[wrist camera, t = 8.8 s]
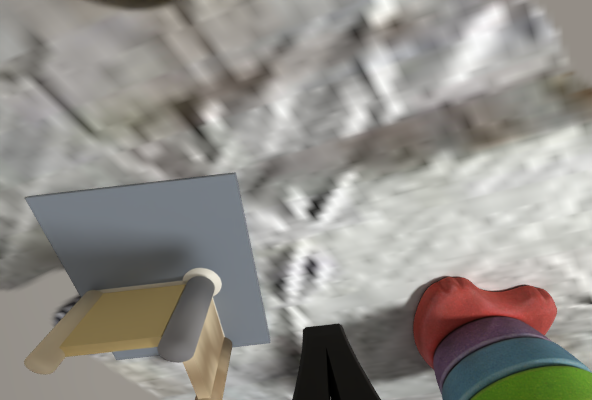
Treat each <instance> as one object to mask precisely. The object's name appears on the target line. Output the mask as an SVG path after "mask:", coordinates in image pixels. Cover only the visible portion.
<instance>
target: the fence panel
mask: <svg viewBox="0 0 592 400" xmlns="http://www.w3.org/2000/svg"><path fill="white" fill-rule="evenodd" d="M214 290H215V285H214V283H213V282H212V281H211V280H210V279H208V278H206V277H203V276H195V277H192V278H191V279H189V280H188V282H187V284H184V285H175V286H166V287H157V288H148V289H139V290H130V291H120V292H111V293H102V292H100V291H97V290H90V291H87V292H86V293H85V294H84V295H83V296H82V297H81V298H80V300H79V301H78V302H77V303H76V304H75V305H74V306H73V307H72V308H71V309H70V311H69V312H68V313H67V314H66V315H65V316H64V317H63V318H62V319H61V320H60V322H59V323H58V324H57V325H56V326H55V327H54V328H53V329H52V330H51V332H49V334H48V335H47V336H46V337H45V338H44V339H43V340H42V341H41V342H40V343H39V345H38V346H37V347H36V348H35V349H34V350H33V351H32V352H31V353H30V354H29V356H28V357H27V358H26V359H25V361H24V364H25V366H26V367H27V368H28V369H29V370H31V371H32V372H34V373H37V374H45V375H46V374H51V373H53V372H54V371H55V370H56V369H57V367H58V366H59V365H60V364H61V362H62V361H63V359H65V357H69V356H78V355H87V354H96V353H105V352H115V351H124V350H133V349H142V348H151V347H157V350H158V353H159V354H160V356H161V357H163V358H164V359H166V360H168V361H171V362H185V361H188V360H190V359H191V358H192V357H193V355H194V353H195V350H196V347H197V344H198V340H199V337H200V334H201V331H202V328H203V325H204V322H205V319H206V315H207V312H208V309H209V306H210V303H211V300H212V297H213V294H214Z"/></svg>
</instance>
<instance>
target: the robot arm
mask: <svg viewBox="0 0 592 400" xmlns="http://www.w3.org/2000/svg"><path fill="white" fill-rule="evenodd" d="M330 396H331V400H381V399H380V397H379V396H378V394H377V393H376V391H375V389H374V388H373V386H372V384H371V383H370V381H369V379H368V377H367V376H366V374H365V372H364V371H363V369H362V367H361V365H360V363H359V362H358V360H357V358H356V356H355V354H354V352H353V350H352V348H351V346H350V344H349V342H348V339H347V337H346V335H345V332H344V330H343V327H342V325H340V324H331V325H322V326H313V327H306V328H305V329H303V344H302V353H301V360H300V366H299V372H298V376H297V381H296V386H295V391H294V395H293V399H292V400H330Z"/></svg>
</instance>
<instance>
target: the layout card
mask: <svg viewBox="0 0 592 400" xmlns="http://www.w3.org/2000/svg"><path fill="white" fill-rule="evenodd" d="M25 199H26V201H27V203H28V205H29V206H30V208H31V210H32V212H33V213H34V215H35V217H36V219H37V221H38V222H39V224H40V226H41V228H42V229H43V231H44V233H45V235H46V236H47V238H48V240H49V242H50V243H51V245H52V247H53V249H54V251H55V252H56V254H57V256H58V258H59V259H60V261H61V263H62V265H63V266H64V268H65V270H66V272H67V273H68V275H69V277H70V279H71V281H72V282H73V284H74V286H75V288H76V289H77V291H78V293H79V295H80V296H81V297H82V296H83V295H84V294H85V293H86V292H87V291H90V290H97V291H100V292H102V293H111V292H120V291H130V290H139V289H148V288H157V287H166V286H175V285H184V284H187V282H188V280H189V279H191V278H192V277H195V276H203V277H206V278H208V279H210V280H211V281H212V282H213V283H214V285H215V290H214V294H213V297H212V299H213V302H214V306H215V309H216V312H217V315H218V319H219V322H220V325H221V329H222V332H223V335H224V337H226V338H228V339H230V340H231V341H232V347H239V346H248V345H257V344H266V343H270V336H269V331H268V326H267V321H266V317H265V312H264V307H263V302H262V297H261V292H260V288H259V283H258V278H257V273H256V268H255V263H254V259H253V254H252V249H251V244H250V239H249V235H248V230H247V225H246V220H245V215H244V210H243V206H242V201H241V196H240V191H239V186H238V182H237V177H236V173H228V174H220V175H211V176H202V177H193V178H185V179H176V180H167V181H158V182H150V183H141V184H132V185H123V186H115V187H106V188H97V189H89V190H80V191H71V192H62V193H54V194H45V195H36V196H29V197H26V198H25ZM112 353H113V355H114V356H115V358H116V360H122V359H131V358H140V357H149V356H158V355H160V354H159V353H158V350H157V347H151V348H142V349H133V350H124V351H115V352H112Z"/></svg>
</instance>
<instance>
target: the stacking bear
mask: <svg viewBox="0 0 592 400" xmlns="http://www.w3.org/2000/svg"><path fill="white" fill-rule="evenodd" d="M556 314H557V308H556V306H555V302H554V301H553V299H552V297H551V296H550V294H549V293H548V292H547V291H545V290H544V289H541V288H535V287H533V286H522V287H518V288H515V289H512V290H508V291H502V292H490V291H485V290H481V289H479V288H477V287H476V286H475V285H474V284H473V283H472V282H470V281H469V280H467V279H465V278H453V277H446V278H444V279H442V280H440V281H438V282H435V283H434V284H432V285H431V286H430V287H429V288H428V289H427V290H426V291H425V293H424V294H423V296H422V298H421V300H420V302H419V304H418V307H417V310H416V313H415V318H414V326H413V331H414V340H415V344H416V346H417V348H418V351H419V353H420V354H421V356H422V357H423V359H424V360H425V361H426V362H427V364H428V365H429V366H430V367H432V368H433V369H434V371H435V375H436V379H437V383H438V386H439V389H440V392H441V394H442V399H443V400H592V372H591V371H590V370H589V369H588V368H587V367H586V366H585V365H584V364H583V363H581V362H580V361H579V360H578V359H577V358H575V357H574V356H573V355H571V354H570V353H569V352H568V351H566V350H565V349H563V348H562V347H561V346H559V345H558V344H556V343H554V342H552V341H551V340H550V339H548V338H547V337H546V336H545V334H546V333H547V331H548V330H549V328H550V326H551V325H552V323H553V321H554V319H555V317H556Z"/></svg>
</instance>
